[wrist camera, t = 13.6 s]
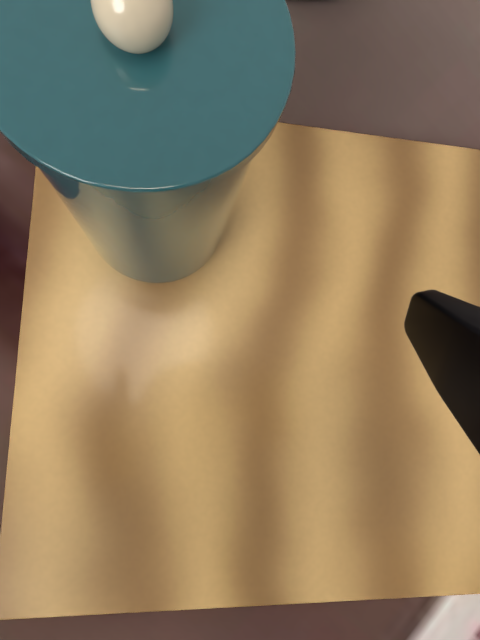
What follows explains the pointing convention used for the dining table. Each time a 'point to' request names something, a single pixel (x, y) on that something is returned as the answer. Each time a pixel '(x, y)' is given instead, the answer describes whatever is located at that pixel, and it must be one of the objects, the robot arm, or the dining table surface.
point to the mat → (249, 398)
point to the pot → (145, 115)
